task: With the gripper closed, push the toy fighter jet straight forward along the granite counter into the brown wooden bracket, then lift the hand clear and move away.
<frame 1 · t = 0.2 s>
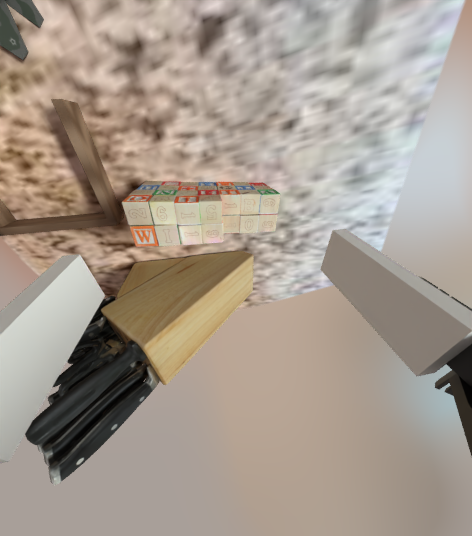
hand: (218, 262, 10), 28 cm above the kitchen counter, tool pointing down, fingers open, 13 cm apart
stack of blocks: (208, 198, 35), on the kitchen counter
brown wooden bracket: (41, 173, 29), on the kitchen counter
knife block: (178, 275, 44), on the kitchen counter
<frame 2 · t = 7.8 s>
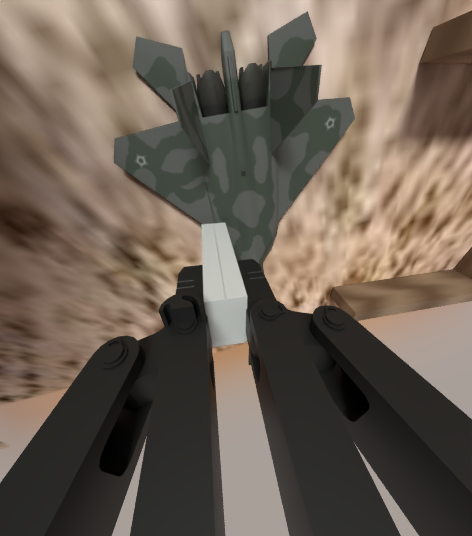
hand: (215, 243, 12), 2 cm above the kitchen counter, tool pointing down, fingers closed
brown wooden bracket: (448, 203, 15), on the kitchen counter
fighter jet: (243, 218, 14), on the kitchen counter, touching gripper
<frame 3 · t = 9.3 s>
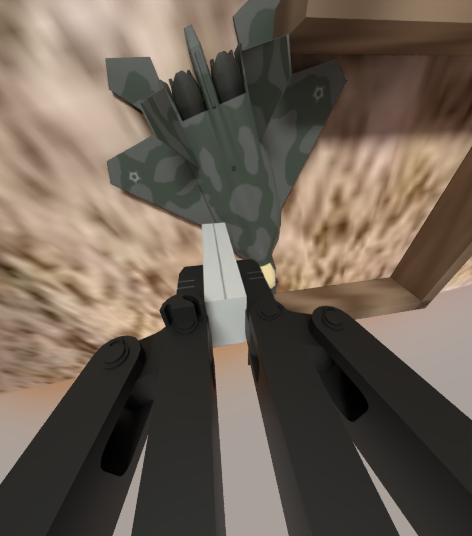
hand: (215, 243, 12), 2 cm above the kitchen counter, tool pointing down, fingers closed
brown wooden bracket: (361, 209, 14), on the kitchen counter
fighter jet: (245, 212, 14), on the kitchen counter, touching gripper
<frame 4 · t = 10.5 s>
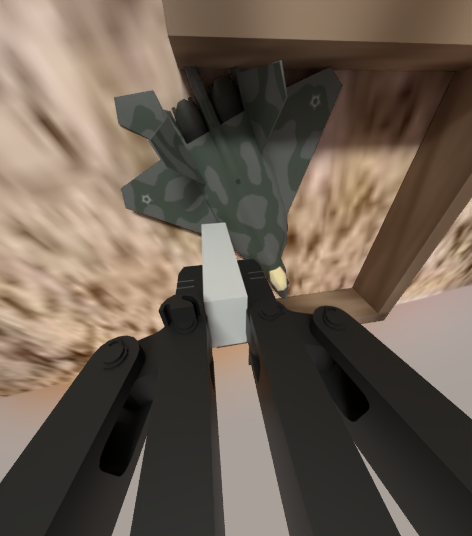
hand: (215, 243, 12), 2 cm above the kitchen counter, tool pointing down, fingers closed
brown wooden bracket: (307, 221, 14), on the kitchen counter
fighter jet: (251, 219, 14), on the kitchen counter, touching gripper
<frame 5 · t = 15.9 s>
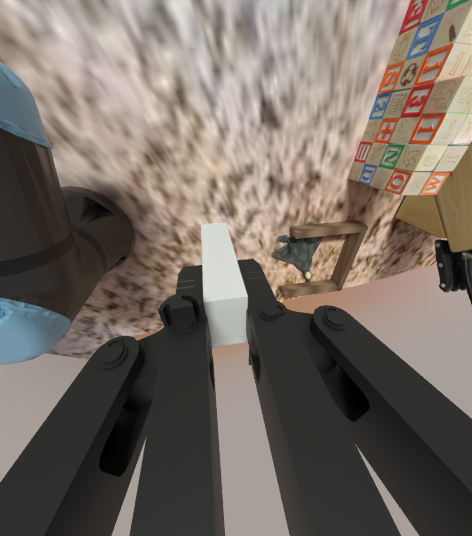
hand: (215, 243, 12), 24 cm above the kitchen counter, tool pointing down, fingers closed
stack of blocks: (387, 108, 30), on the kitchen counter
brown wooden bracket: (314, 258, 46), on the kitchen counter
fighter jet: (300, 257, 47), on the kitchen counter
knife block: (432, 178, 39), on the kitchen counter
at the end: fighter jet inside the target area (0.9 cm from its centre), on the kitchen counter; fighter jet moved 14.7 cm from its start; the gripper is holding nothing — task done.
